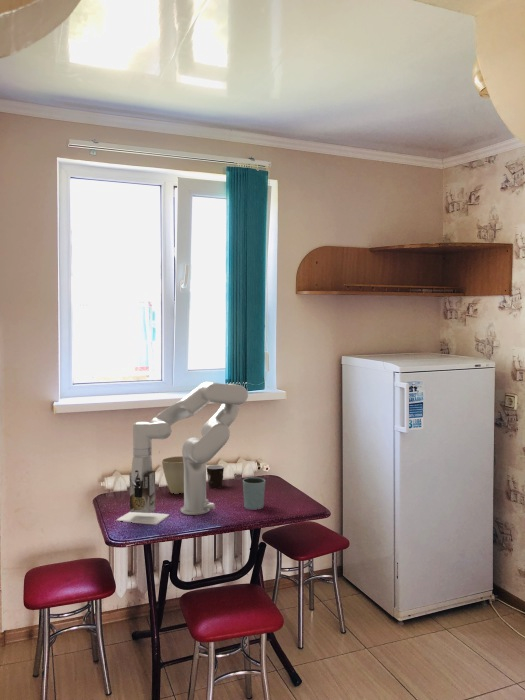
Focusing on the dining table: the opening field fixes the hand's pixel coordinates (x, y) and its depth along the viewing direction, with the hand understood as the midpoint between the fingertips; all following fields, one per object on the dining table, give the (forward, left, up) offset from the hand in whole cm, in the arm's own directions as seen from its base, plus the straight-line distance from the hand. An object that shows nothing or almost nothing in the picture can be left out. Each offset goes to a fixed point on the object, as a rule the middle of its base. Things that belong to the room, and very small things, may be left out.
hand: (142, 494), depth 239 cm
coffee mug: (-12, -53, -10) cm, 55 cm away
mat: (0, 0, -10) cm, 10 cm away
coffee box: (0, 0, -7) cm, 7 cm away
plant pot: (+3, -41, -10) cm, 42 cm away
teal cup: (-40, -27, -10) cm, 49 cm away
